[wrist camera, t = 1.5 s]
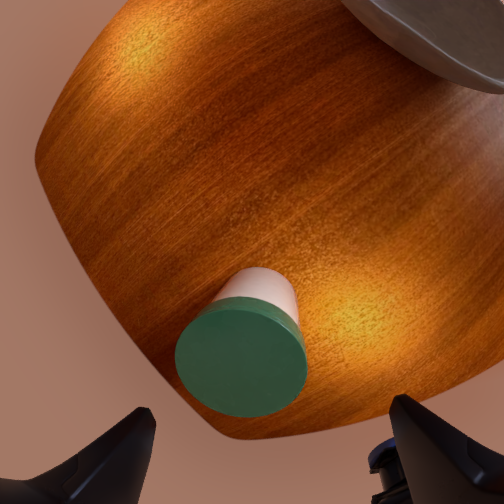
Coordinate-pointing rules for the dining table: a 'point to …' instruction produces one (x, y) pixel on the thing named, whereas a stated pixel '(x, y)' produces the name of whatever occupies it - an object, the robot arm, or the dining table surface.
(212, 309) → the lid
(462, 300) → the dining table surface
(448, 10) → the bowl
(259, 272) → the jar
